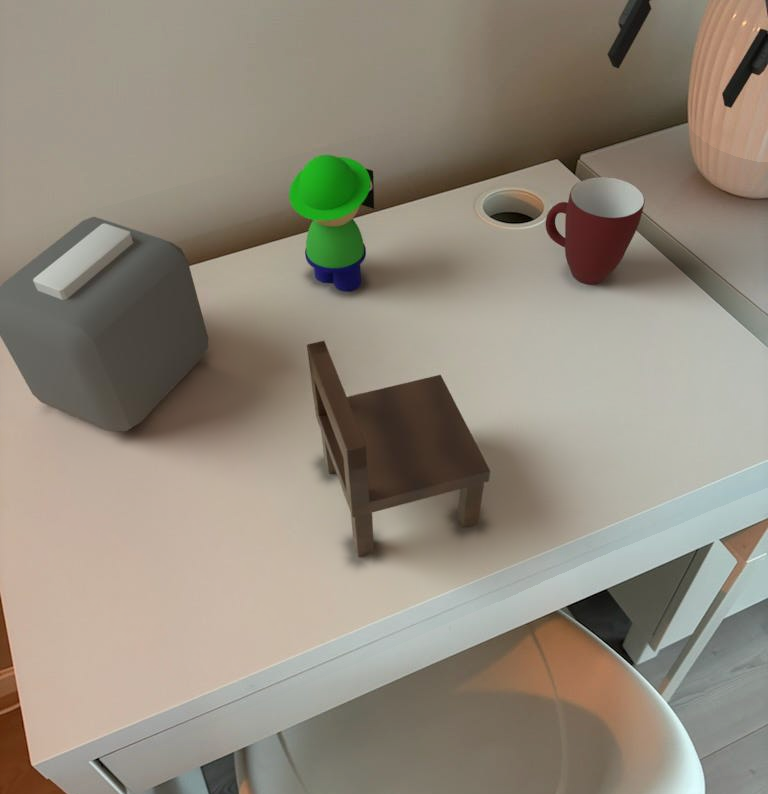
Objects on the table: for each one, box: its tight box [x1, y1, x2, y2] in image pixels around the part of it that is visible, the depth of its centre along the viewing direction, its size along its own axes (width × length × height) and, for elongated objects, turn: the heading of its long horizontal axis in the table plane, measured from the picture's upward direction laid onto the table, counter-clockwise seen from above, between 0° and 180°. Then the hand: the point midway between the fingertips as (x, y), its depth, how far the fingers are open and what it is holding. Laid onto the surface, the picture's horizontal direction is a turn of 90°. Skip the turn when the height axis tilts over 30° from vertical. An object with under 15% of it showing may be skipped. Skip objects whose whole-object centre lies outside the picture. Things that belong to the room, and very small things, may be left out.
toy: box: [288, 154, 375, 292], centre depth 84 cm, size 9×9×15 cm
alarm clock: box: [0, 216, 209, 432], centre depth 74 cm, size 16×11×16 cm
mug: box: [545, 176, 646, 285], centre depth 86 cm, size 10×8×10 cm
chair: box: [306, 340, 491, 558], centre depth 65 cm, size 12×12×15 cm
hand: (667, 81), depth 80 cm, fingers open, 13 cm apart
